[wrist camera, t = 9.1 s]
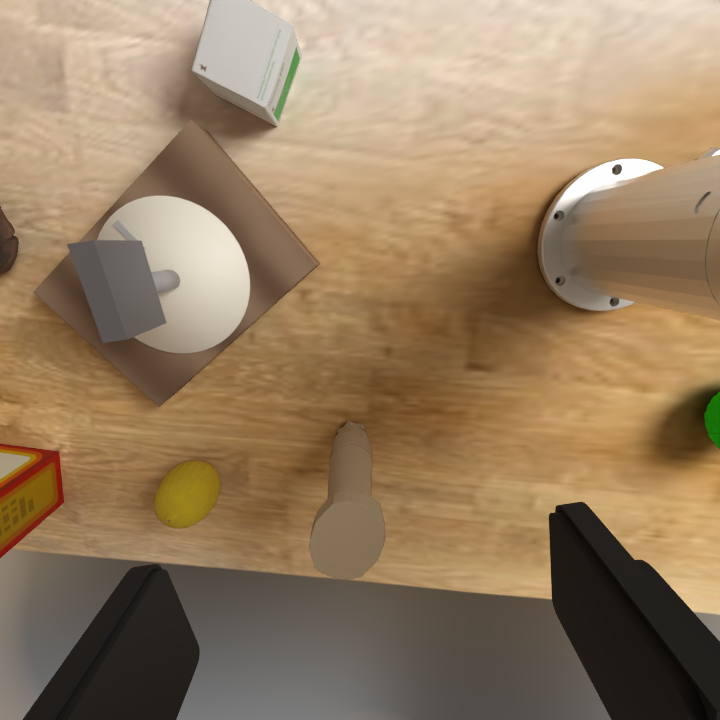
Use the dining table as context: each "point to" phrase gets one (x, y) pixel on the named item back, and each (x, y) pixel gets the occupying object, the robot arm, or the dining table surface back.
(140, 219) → the dial
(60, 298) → the board
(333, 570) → the handle
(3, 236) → the broken clay pot
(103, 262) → the grey block with rod
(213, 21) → the small box
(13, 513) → the baking soda box
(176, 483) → the lemon
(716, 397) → the ornament
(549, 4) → the dining table surface
